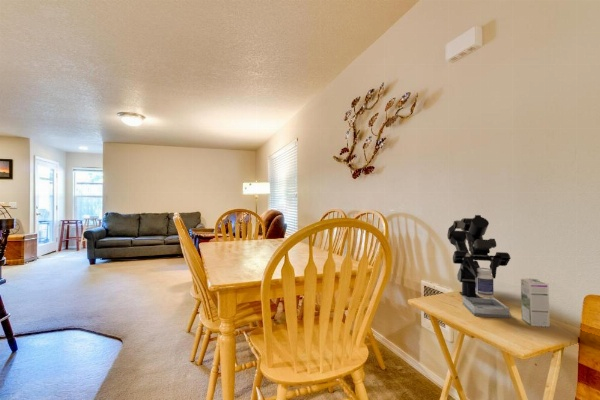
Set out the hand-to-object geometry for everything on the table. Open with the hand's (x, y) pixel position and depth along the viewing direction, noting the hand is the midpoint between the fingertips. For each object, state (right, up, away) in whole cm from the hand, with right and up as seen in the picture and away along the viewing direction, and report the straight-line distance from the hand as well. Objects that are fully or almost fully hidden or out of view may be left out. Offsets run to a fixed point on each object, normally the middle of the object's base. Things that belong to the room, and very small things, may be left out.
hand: (485, 277), depth 106 cm
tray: (+1, -13, +2) cm, 14 cm away
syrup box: (+11, -13, -9) cm, 20 cm away
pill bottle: (0, -7, +1) cm, 7 cm away
